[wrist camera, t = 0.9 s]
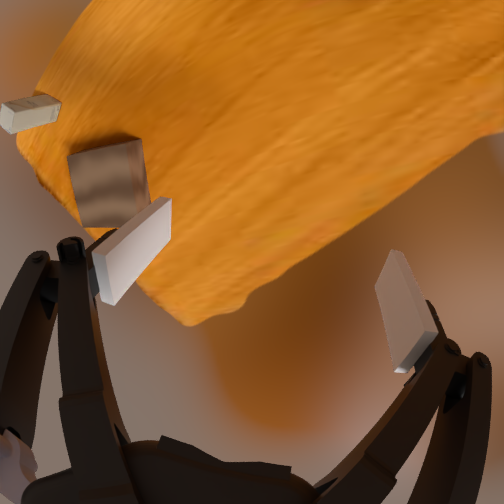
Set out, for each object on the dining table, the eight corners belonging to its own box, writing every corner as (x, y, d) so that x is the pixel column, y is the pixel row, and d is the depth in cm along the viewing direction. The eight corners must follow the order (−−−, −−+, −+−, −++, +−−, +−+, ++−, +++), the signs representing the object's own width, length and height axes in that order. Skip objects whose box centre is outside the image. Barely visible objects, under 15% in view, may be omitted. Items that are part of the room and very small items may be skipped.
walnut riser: (84, 150, 44) (66, 156, 39) (142, 138, 41) (125, 143, 37) (97, 216, 50) (82, 227, 46) (154, 215, 48) (140, 227, 44)
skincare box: (62, 102, 39) (15, 112, 28) (56, 122, 41) (11, 135, 31) (46, 93, 38) (1, 102, 27) (41, 112, 40) (-3, 124, 30)
